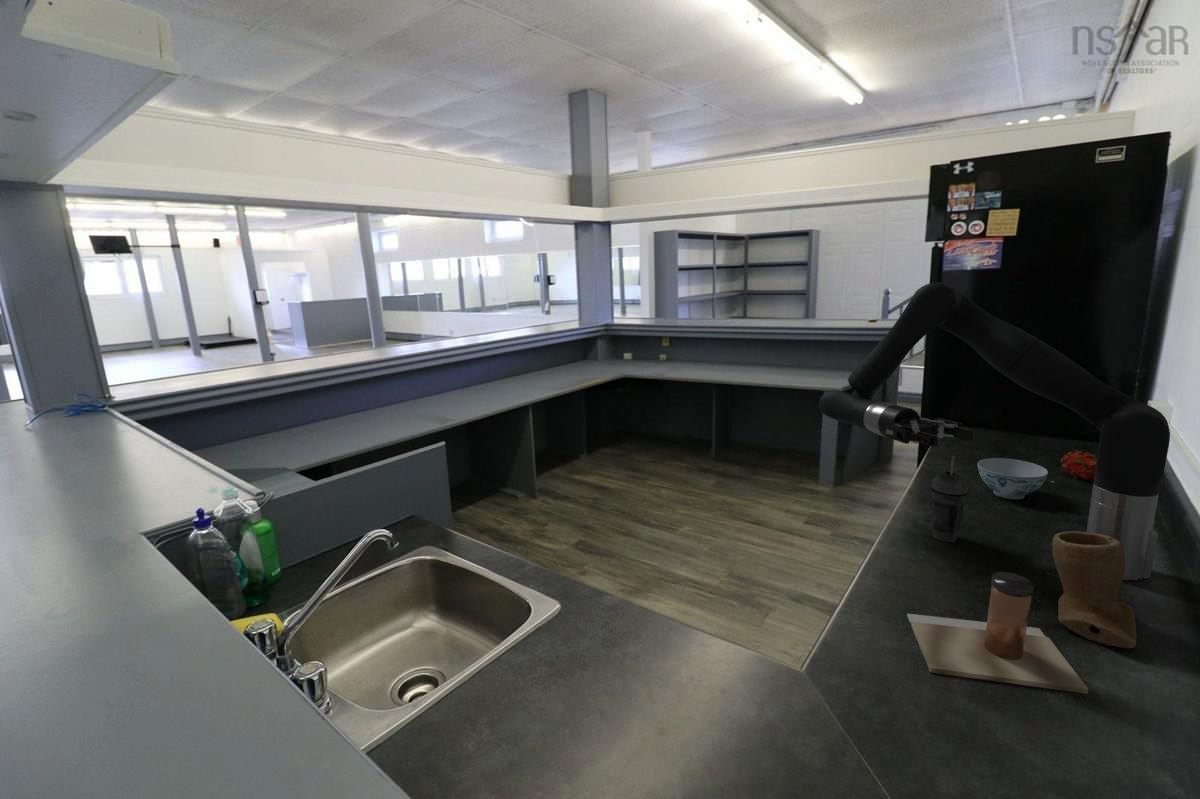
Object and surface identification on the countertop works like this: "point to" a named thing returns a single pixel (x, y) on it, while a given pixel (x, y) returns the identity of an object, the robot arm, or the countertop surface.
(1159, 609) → the countertop surface
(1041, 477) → the chinaware
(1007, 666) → the board
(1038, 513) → the countertop surface
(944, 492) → the beverage cup
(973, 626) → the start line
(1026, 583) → the canister
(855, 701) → the countertop surface
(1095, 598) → the brown hollow flared piece
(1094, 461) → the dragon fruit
